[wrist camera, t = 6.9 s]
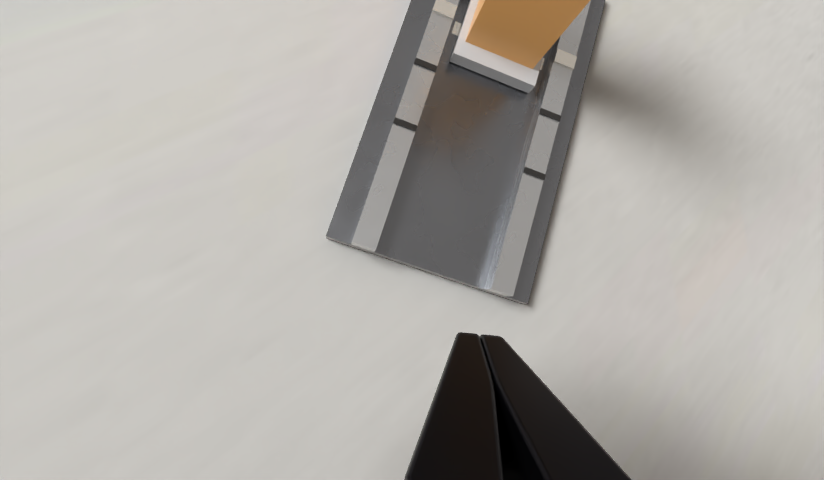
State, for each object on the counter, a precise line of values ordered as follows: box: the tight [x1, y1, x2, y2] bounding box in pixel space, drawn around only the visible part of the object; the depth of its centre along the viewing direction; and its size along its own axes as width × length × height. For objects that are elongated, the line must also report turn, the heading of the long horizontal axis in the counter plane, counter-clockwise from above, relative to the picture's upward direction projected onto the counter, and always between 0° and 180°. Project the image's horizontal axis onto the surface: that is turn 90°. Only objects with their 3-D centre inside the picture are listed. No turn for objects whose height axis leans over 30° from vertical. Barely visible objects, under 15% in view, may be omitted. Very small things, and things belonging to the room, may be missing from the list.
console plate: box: [326, 0, 605, 304], centre depth 22 cm, size 20×11×3 cm, turn 162°
